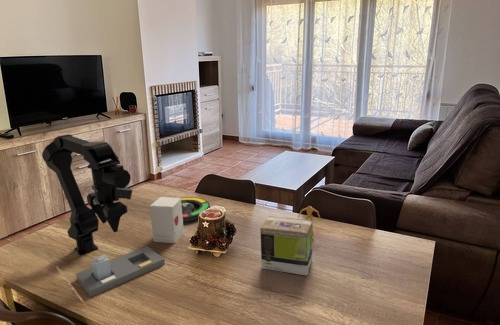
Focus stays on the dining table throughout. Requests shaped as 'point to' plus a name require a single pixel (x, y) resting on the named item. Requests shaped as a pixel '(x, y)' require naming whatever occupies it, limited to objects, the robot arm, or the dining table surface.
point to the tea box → (286, 244)
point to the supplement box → (167, 220)
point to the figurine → (309, 212)
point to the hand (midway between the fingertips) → (109, 227)
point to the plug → (101, 267)
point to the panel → (121, 270)
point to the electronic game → (192, 207)
